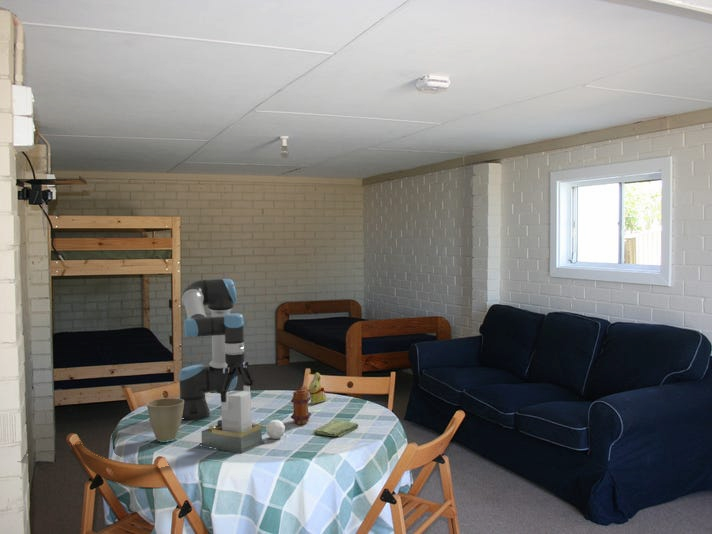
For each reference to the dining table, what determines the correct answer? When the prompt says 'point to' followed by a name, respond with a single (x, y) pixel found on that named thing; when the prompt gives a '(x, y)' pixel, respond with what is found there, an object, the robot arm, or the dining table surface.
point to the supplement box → (237, 412)
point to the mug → (301, 406)
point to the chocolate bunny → (316, 390)
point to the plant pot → (165, 417)
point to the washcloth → (336, 428)
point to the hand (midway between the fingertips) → (236, 405)
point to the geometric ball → (275, 429)
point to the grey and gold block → (232, 438)
